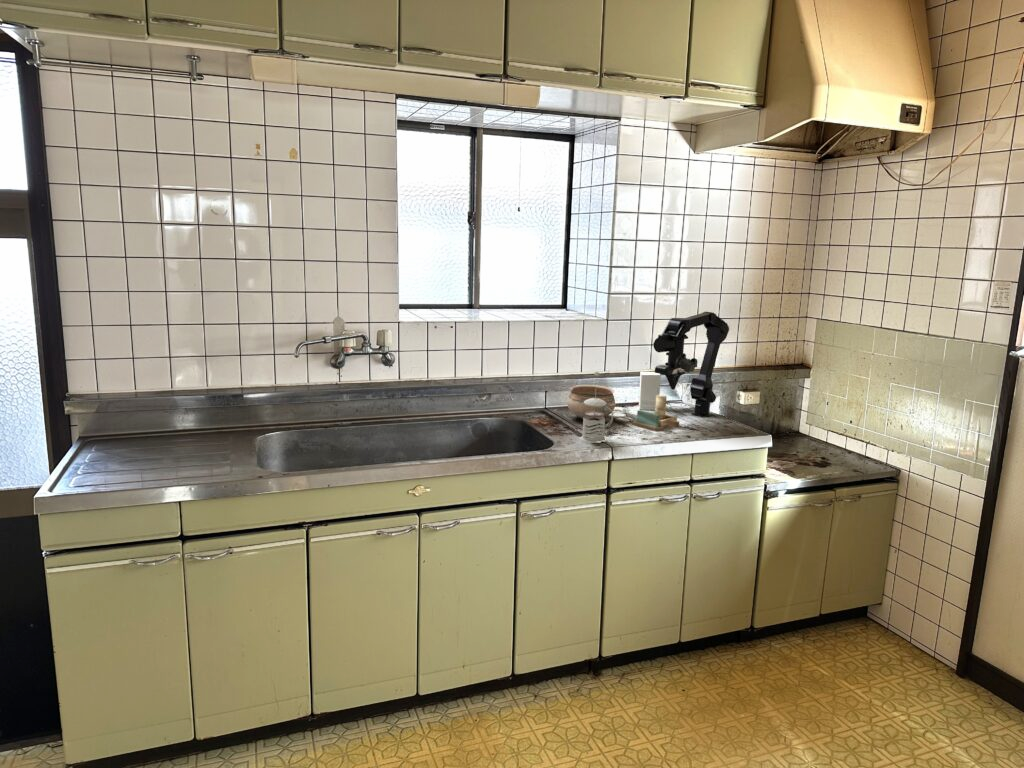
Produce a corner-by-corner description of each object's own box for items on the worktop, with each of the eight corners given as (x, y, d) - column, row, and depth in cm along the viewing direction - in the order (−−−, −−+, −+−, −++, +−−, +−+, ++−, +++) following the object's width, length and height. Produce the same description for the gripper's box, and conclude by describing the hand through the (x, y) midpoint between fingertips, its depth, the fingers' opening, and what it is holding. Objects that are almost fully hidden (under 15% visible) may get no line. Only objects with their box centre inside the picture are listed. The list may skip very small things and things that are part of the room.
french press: (577, 435, 260) (580, 368, 255) (608, 436, 261) (612, 369, 256) (581, 443, 251) (585, 374, 245) (614, 443, 251) (618, 374, 246)
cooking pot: (551, 415, 287) (552, 386, 284) (584, 409, 299) (586, 381, 296) (596, 430, 268) (598, 398, 266) (629, 422, 280) (632, 392, 277)
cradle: (656, 418, 287) (657, 405, 286) (679, 424, 279) (680, 410, 278) (632, 424, 277) (633, 410, 276) (655, 431, 269) (656, 416, 268)
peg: (658, 419, 282) (660, 394, 280) (666, 421, 279) (668, 396, 277) (652, 420, 280) (654, 395, 278) (660, 422, 277) (662, 397, 275)
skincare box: (657, 407, 307) (660, 371, 303) (658, 411, 300) (661, 374, 297) (637, 406, 308) (640, 370, 304) (638, 409, 301) (641, 373, 298)
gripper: (679, 355, 267) (676, 396, 270) (707, 351, 279) (703, 390, 282) (655, 351, 275) (652, 390, 278) (683, 347, 287) (679, 385, 290)
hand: (672, 389), depth 282 cm, fingers closed
